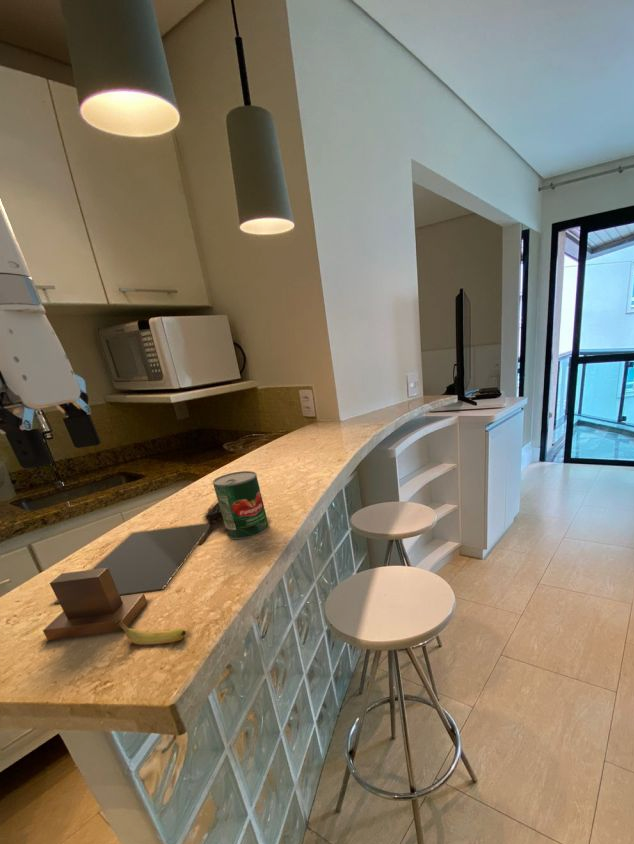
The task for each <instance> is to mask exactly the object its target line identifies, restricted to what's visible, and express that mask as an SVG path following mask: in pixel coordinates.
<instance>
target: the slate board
mask: <svg viewBox="0 0 634 844" xmlns="http://www.w3.org/2000/svg"><path fill="white" fill-rule="evenodd" d="M213 529H214V524H213V523H212V522H211V523H203V524H194V525H186V526H179V527H170V528H163V529H155V530H147V531H141V532H133V533H130V535H129V536H128V537H127V538H125V539H124V541H122V542H120V544H119V545H118V546H117V547H115V549H113V550H112V551H111V552H110V553H109V554H107V555H106V557H104V558H103V559H102V560H101V561H100V562H99V563H97V565H95V566H94V567H93V568H92V569H91V570H93V569H100V568H108V569H109V571H110V574H111V576H112V578H113V581H114V583H115V585H116V588H117V590H118V592H119V595H120V596H128V595H136V594H143V593H148V592H149V593H150V592H158V591H164V590H165V589H166V587H167V586H168V585H169V584H170V582H171V581H172V579H173V578H174V577H175V575H176V574H177V572H179V570H180V568H181V567H182V566H183V565H184V563H185V561H187V559H188V558H189V556H190V555H191V554H192V552H193V551H195V548H196V547H199V546H202V544H203V543H204V541H205V540H206V539H207V537H208V536H209V535H210V533H211V532H212V530H213ZM53 604H54V605H60V603H59V601H58V599H56V601H54V603H53Z"/></svg>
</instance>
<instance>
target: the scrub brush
mask: <svg viewBox="0 0 634 844" xmlns="http://www.w3.org/2000/svg"><path fill="white" fill-rule="evenodd" d="M92 569H93V568H92ZM92 569H86V570H79V571H72V572H71V571H70V572H63V573H60V574H59V575H58V576H57V577H56V578H54V579H53V580H51V582H49V585H50V587H51V589H52V591H53V593H54V595H55V597H56V600H58V601H59V603H60V604H59V605H60V607H61V610H62V612H61V613H60V614H59V615H57V617H56V618H55V619H53V620H52V621H51V622H50V623H49V624H48V625H46V627H44V629H42V632H43V634H44V636H45V637H46V639H47V641H54V640H60V639H68V638H75V637H82V636H83V637H84V636H89V635H90V636H91V635H96V634H97V635H98V634H105V633H111V632H118V631H119V632H121V631H124V630H123V629H122V628H121V627H120V626H119V625H118V626H117V625H115V622H116V621H119V620H120V619H121V620H123V623H124V624H125V625H126V626H127V627H128V628H130V626H131V625H132V624H133V622H134V621H135V619H136V618H137V617H138V615H139V614H140V613H141V612H142V610H143V609H144V608H145V606H146V605H147V604H148V600H147V597H146V596H145V592H143V593H135V594H128V595H119V592H118V590H117V588H116V585H115V583H114V581H113V578H112V576H111V574H110V571H109V569H108V568H100V569H93V570H92Z"/></svg>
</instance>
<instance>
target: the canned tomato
mask: <svg viewBox="0 0 634 844" xmlns="http://www.w3.org/2000/svg"><path fill="white" fill-rule="evenodd" d="M259 484H260V483H259V481H258V477H257V473H256V472H255V471H251V470H241V471H235V472H230V473H226V474H222V475H220V476H218V477H215V478H214V479H213V480H212V485H213V489H214V492H215V496H216V500H217V499H218V501H217V503H218V502H219V506H220V509H221V513H222V516H223V517H222V520H223V524H224V527H225V530H226V533H227V537H228V538H229V539H231V540H238V541H239V540H246V539H247V540H248V539H252V538H255V537H258V536H260V535H262V534H264V533H265V532H267V531H268V530H269V527H270V524H269V521H268V518H267V513H266V509H265V505H264V501H263V497H262V496H263V495H262V493H261V488H260V485H259Z"/></svg>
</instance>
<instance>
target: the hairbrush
mask: <svg viewBox="0 0 634 844" xmlns="http://www.w3.org/2000/svg"><path fill="white" fill-rule="evenodd" d="M218 518H223V516H222V513H221V509H220V506H219V502H218V499H217V498H216V501H215V502H214V503H213V504H212V505H210V507H209V508H208V510H207V513H206V514H205V519H206V521H208V520H213V519H218Z"/></svg>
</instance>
